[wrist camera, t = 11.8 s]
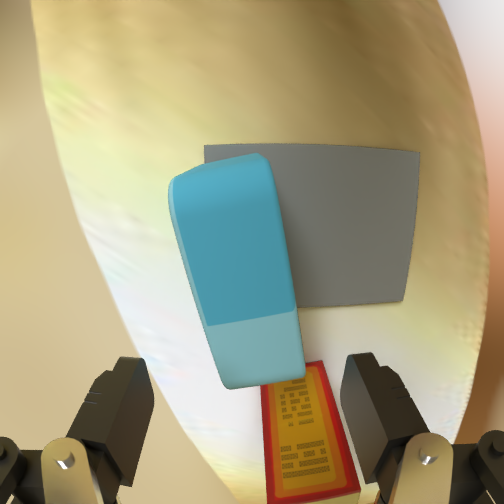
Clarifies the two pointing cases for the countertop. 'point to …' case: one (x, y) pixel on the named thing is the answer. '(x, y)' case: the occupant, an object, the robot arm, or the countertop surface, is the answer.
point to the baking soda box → (306, 443)
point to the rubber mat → (342, 218)
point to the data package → (239, 269)
